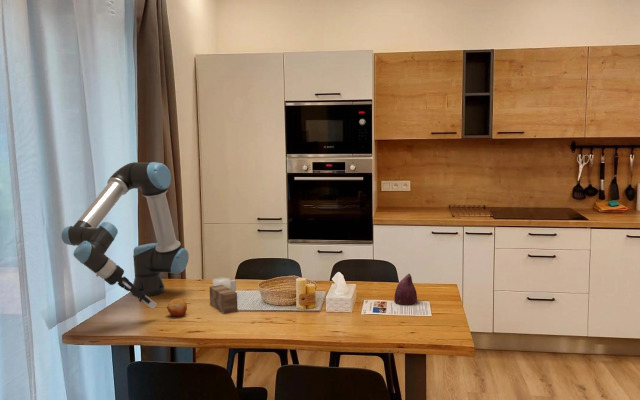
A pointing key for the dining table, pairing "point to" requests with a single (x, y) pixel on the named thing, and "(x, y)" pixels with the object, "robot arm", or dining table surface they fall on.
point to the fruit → (177, 307)
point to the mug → (225, 282)
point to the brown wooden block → (223, 299)
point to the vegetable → (405, 292)
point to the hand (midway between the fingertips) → (154, 306)
